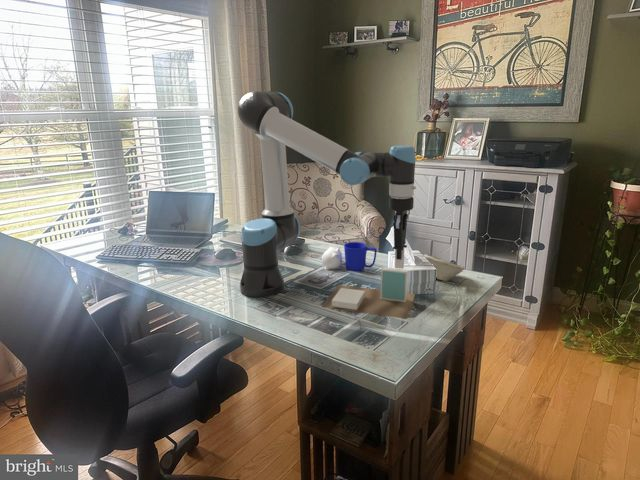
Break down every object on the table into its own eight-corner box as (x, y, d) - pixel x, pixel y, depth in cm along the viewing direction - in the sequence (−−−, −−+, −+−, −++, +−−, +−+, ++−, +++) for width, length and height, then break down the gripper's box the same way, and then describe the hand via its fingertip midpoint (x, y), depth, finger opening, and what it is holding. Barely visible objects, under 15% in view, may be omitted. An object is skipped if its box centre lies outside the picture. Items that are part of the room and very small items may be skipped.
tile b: (380, 299, 141) (381, 269, 138) (381, 296, 143) (382, 267, 140) (405, 302, 139) (407, 272, 136) (406, 299, 141) (408, 269, 138)
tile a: (341, 294, 146) (331, 306, 137) (341, 287, 145) (331, 300, 136) (364, 297, 143) (357, 310, 134) (365, 290, 142) (357, 303, 133)
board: (321, 310, 137) (321, 306, 137) (338, 287, 153) (338, 284, 153) (406, 322, 129) (406, 318, 128) (415, 297, 145) (415, 293, 145)
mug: (375, 275, 164) (375, 249, 161) (342, 273, 166) (342, 248, 163) (377, 267, 171) (377, 242, 168) (345, 266, 174) (345, 241, 171)
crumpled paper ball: (331, 239, 176) (328, 247, 164) (353, 253, 176) (352, 263, 165) (319, 257, 178) (315, 266, 167) (341, 271, 179) (339, 281, 167)
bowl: (472, 282, 156) (474, 255, 153) (443, 291, 149) (445, 263, 146) (440, 269, 169) (442, 244, 166) (412, 277, 162) (413, 250, 159)
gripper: (410, 201, 132) (407, 275, 139) (416, 192, 144) (413, 261, 151) (385, 200, 134) (383, 273, 141) (393, 192, 146) (391, 259, 153)
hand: (399, 267), depth 146 cm, fingers closed
